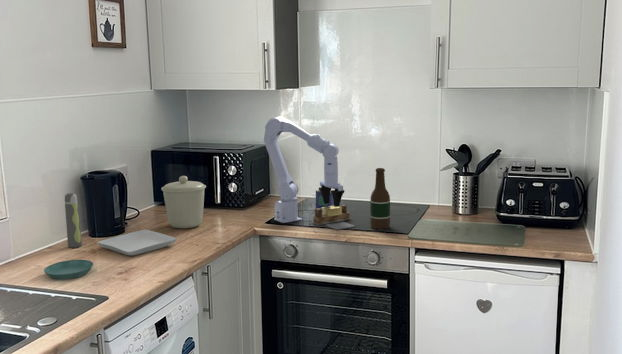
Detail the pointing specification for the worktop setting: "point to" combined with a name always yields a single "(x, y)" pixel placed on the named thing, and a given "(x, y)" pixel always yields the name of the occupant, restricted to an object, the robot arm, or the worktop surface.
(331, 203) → the flask
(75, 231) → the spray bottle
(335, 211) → the pale yellow block
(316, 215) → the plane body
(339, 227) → the mat
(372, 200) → the beer bottle
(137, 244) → the salad plate
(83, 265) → the saucer
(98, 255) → the worktop surface
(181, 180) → the canister
